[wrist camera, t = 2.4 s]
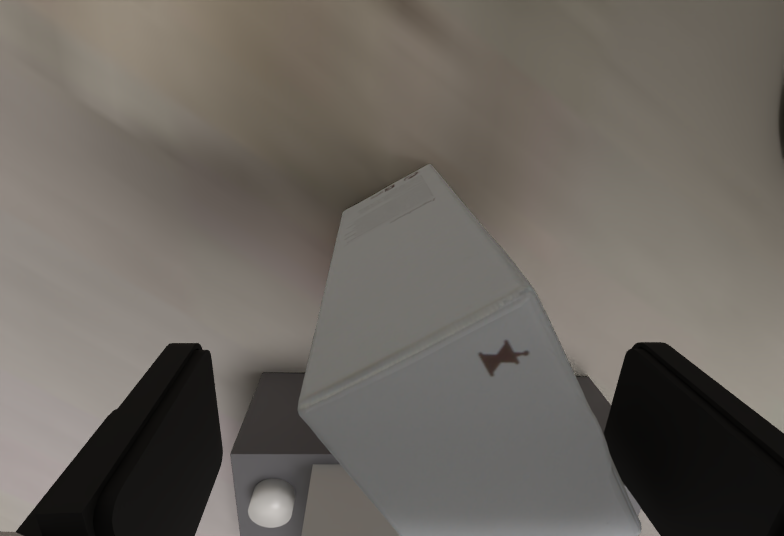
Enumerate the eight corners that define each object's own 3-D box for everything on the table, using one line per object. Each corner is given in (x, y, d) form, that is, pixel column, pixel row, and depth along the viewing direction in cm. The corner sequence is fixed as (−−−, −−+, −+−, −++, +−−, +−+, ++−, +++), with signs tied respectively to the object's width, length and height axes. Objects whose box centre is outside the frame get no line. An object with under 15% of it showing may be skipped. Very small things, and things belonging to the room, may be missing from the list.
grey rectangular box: (588, 376, 21) (709, 532, 14) (548, 531, 25) (624, 718, 18) (262, 372, 20) (196, 537, 13) (275, 533, 24) (231, 732, 17)
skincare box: (338, 211, 18) (281, 405, 6) (430, 160, 17) (541, 276, 6) (407, 323, 20) (453, 616, 9) (491, 281, 19) (658, 537, 8)
